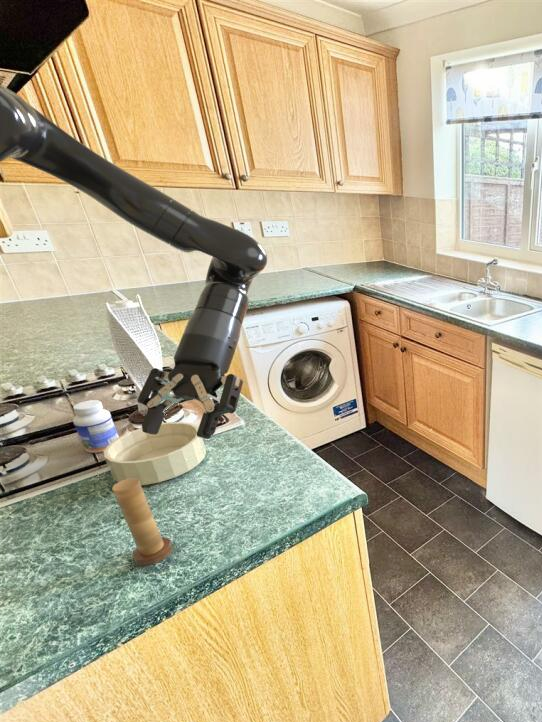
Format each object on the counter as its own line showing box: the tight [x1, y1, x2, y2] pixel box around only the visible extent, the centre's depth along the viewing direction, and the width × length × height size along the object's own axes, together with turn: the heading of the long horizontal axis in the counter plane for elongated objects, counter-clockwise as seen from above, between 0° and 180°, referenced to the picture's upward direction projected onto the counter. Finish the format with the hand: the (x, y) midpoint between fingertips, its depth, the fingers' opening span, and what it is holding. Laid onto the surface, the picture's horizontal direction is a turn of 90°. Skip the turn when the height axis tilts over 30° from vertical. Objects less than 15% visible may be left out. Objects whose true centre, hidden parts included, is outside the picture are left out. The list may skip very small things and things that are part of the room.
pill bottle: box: [72, 399, 120, 454], centre depth 84 cm, size 5×5×10 cm
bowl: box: [103, 421, 207, 486], centre depth 80 cm, size 14×14×6 cm
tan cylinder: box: [111, 478, 174, 567], centre depth 60 cm, size 4×4×13 cm
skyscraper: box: [105, 293, 173, 412], centre depth 94 cm, size 8×8×28 cm
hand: (176, 435), depth 65 cm, fingers open, 8 cm apart
